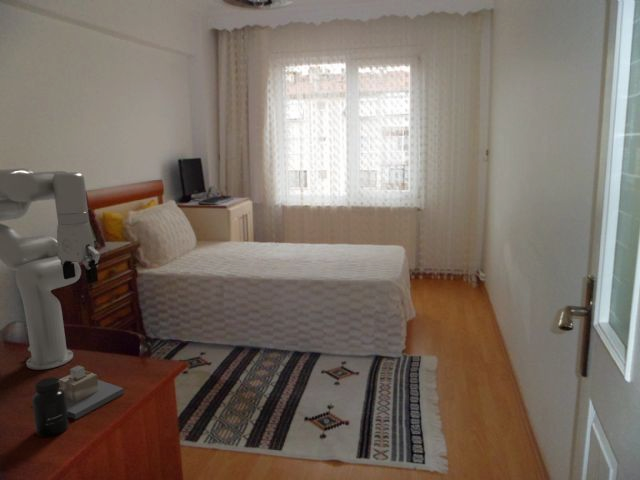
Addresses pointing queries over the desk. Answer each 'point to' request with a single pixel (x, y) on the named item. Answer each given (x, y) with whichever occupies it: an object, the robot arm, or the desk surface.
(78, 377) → the steel post
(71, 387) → the beige block with hole
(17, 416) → the desk surface
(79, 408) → the hub plate
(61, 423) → the supplement bottle
